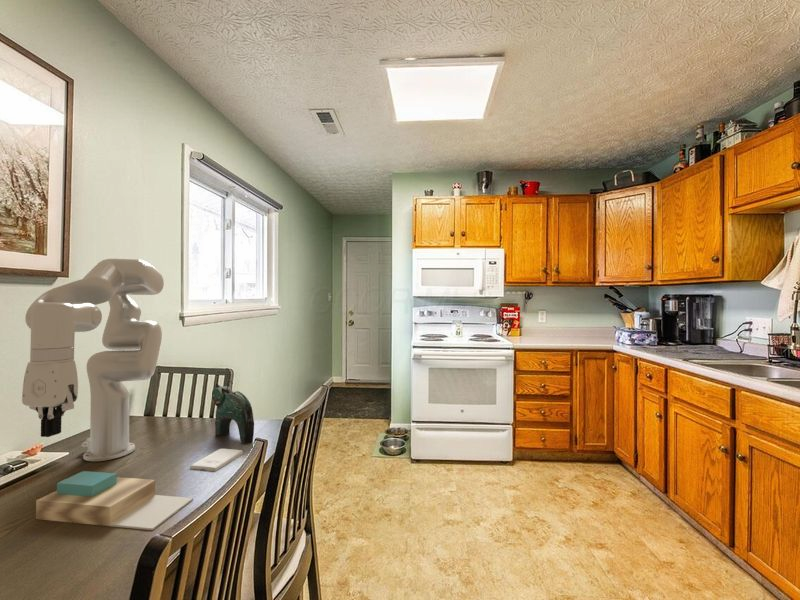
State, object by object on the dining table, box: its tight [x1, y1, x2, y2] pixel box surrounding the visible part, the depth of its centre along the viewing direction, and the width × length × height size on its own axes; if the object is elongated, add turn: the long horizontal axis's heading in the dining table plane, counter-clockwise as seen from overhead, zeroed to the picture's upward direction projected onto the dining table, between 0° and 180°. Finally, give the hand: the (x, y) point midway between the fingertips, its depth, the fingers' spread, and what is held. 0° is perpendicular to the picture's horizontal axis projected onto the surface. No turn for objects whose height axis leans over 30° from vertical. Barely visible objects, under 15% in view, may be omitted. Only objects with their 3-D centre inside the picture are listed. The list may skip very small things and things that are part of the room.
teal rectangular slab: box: [56, 470, 118, 497], centre depth 86 cm, size 9×6×2 cm, turn 82°
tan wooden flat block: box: [35, 476, 156, 527], centre depth 85 cm, size 18×12×4 cm, turn 82°
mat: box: [109, 494, 194, 531], centre depth 83 cm, size 10×12×1 cm
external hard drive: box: [189, 448, 244, 472], centre depth 110 cm, size 2×8×12 cm
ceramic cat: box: [211, 379, 255, 446], centre depth 129 cm, size 20×6×20 cm, turn 55°
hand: (51, 434), depth 87 cm, fingers closed
